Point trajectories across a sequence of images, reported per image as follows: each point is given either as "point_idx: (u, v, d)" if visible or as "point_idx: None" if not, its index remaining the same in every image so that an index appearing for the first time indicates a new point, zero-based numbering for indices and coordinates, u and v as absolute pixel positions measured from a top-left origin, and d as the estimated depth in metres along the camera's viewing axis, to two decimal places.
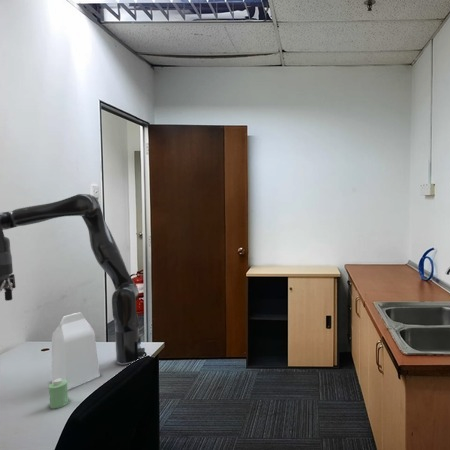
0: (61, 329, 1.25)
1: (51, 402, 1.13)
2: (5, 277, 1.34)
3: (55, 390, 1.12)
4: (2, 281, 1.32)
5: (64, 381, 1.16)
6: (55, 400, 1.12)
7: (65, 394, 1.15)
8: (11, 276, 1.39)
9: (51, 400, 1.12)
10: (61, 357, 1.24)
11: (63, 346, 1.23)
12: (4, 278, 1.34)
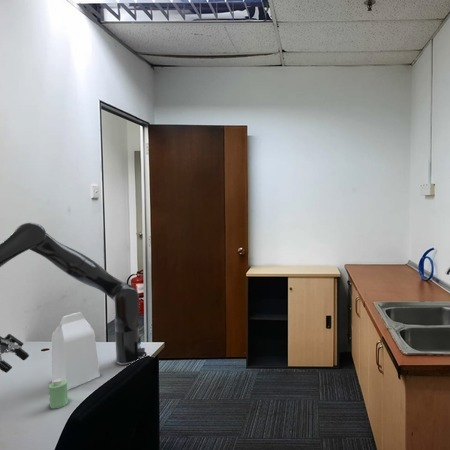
0: (61, 329, 1.25)
1: (51, 402, 1.13)
2: None
3: (55, 390, 1.12)
4: None
5: (64, 381, 1.16)
6: (55, 400, 1.12)
7: (65, 394, 1.15)
8: (8, 337, 1.16)
9: (51, 400, 1.12)
10: (61, 357, 1.24)
11: (63, 346, 1.23)
12: None
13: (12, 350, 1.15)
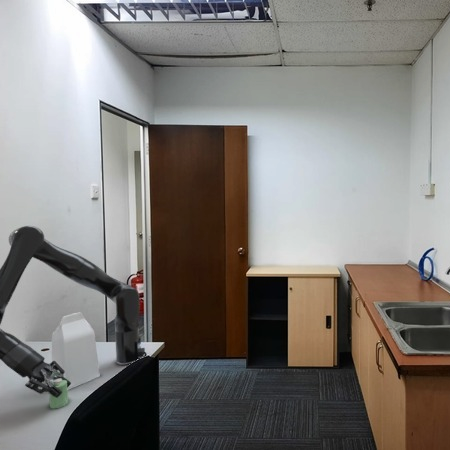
0: (61, 329, 1.25)
1: (51, 402, 1.13)
2: (42, 366, 1.14)
3: None
4: (40, 371, 1.12)
5: (64, 381, 1.16)
6: (55, 400, 1.12)
7: (65, 394, 1.15)
8: (52, 363, 1.19)
9: (51, 400, 1.12)
10: (61, 357, 1.24)
11: (63, 346, 1.23)
12: (41, 368, 1.14)
13: (55, 378, 1.17)
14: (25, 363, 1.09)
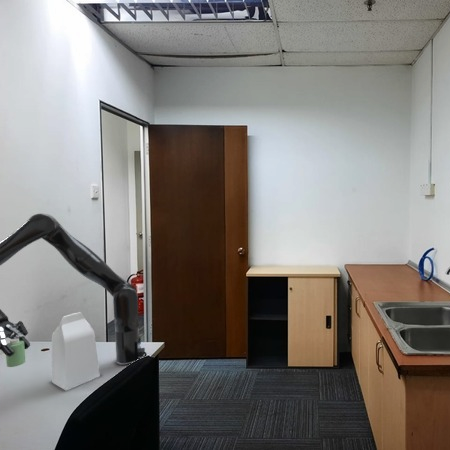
0: (61, 329, 1.25)
1: (6, 360, 1.14)
2: (3, 325, 1.17)
3: None
4: None
5: (21, 342, 1.17)
6: (9, 359, 1.14)
7: (20, 354, 1.15)
8: (18, 323, 1.22)
9: (6, 358, 1.14)
10: (61, 357, 1.24)
11: (63, 346, 1.23)
12: (2, 326, 1.17)
13: (16, 338, 1.19)
14: None
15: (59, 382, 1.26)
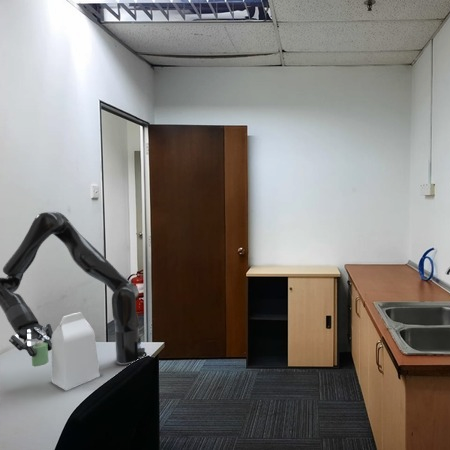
0: (61, 329, 1.25)
1: (32, 360, 1.27)
2: (33, 327, 1.31)
3: None
4: (26, 331, 1.28)
5: (45, 344, 1.29)
6: (33, 359, 1.26)
7: (42, 356, 1.27)
8: (46, 326, 1.35)
9: None
10: (61, 357, 1.24)
11: (63, 346, 1.23)
12: (31, 328, 1.30)
13: (43, 339, 1.32)
14: (15, 321, 1.27)
15: (59, 382, 1.26)
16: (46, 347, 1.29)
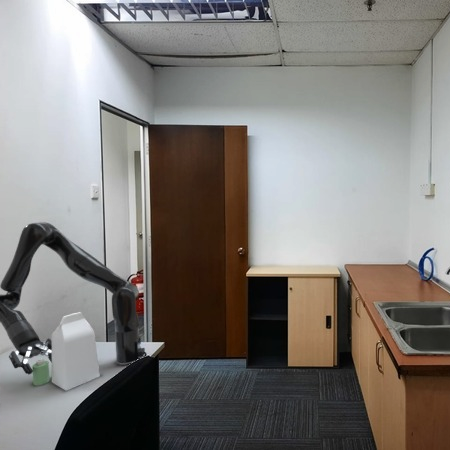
0: (61, 329, 1.25)
1: (33, 379, 1.28)
2: (34, 344, 1.31)
3: (34, 369, 1.26)
4: (27, 348, 1.28)
5: (46, 363, 1.30)
6: (34, 378, 1.27)
7: (43, 375, 1.28)
8: (47, 341, 1.35)
9: (33, 377, 1.27)
10: (61, 357, 1.24)
11: (63, 346, 1.23)
12: (32, 345, 1.30)
13: (47, 353, 1.34)
14: (17, 338, 1.28)
15: (59, 382, 1.26)
16: (47, 366, 1.29)
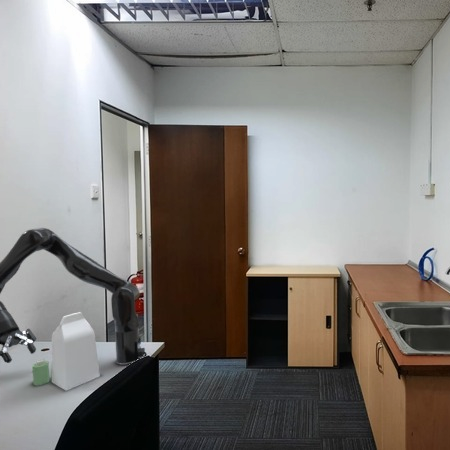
0: (61, 329, 1.25)
1: (33, 379, 1.28)
2: (13, 333, 1.35)
3: (34, 369, 1.26)
4: (7, 338, 1.32)
5: (46, 363, 1.30)
6: (34, 378, 1.27)
7: (43, 375, 1.28)
8: (26, 331, 1.40)
9: (33, 377, 1.27)
10: (61, 357, 1.24)
11: (63, 346, 1.23)
12: (12, 335, 1.35)
13: (26, 343, 1.38)
14: None
15: (59, 382, 1.26)
16: (47, 366, 1.29)
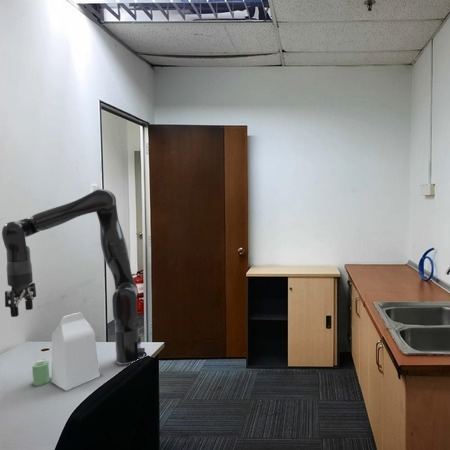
0: (61, 329, 1.25)
1: (33, 379, 1.28)
2: (25, 286, 1.32)
3: (34, 369, 1.26)
4: (22, 291, 1.29)
5: (46, 363, 1.30)
6: (34, 378, 1.27)
7: (43, 375, 1.28)
8: (32, 285, 1.36)
9: (33, 377, 1.27)
10: (61, 357, 1.24)
11: (63, 346, 1.23)
12: (24, 287, 1.31)
13: (26, 297, 1.35)
14: (19, 278, 1.28)
15: (59, 382, 1.26)
16: (47, 366, 1.29)
